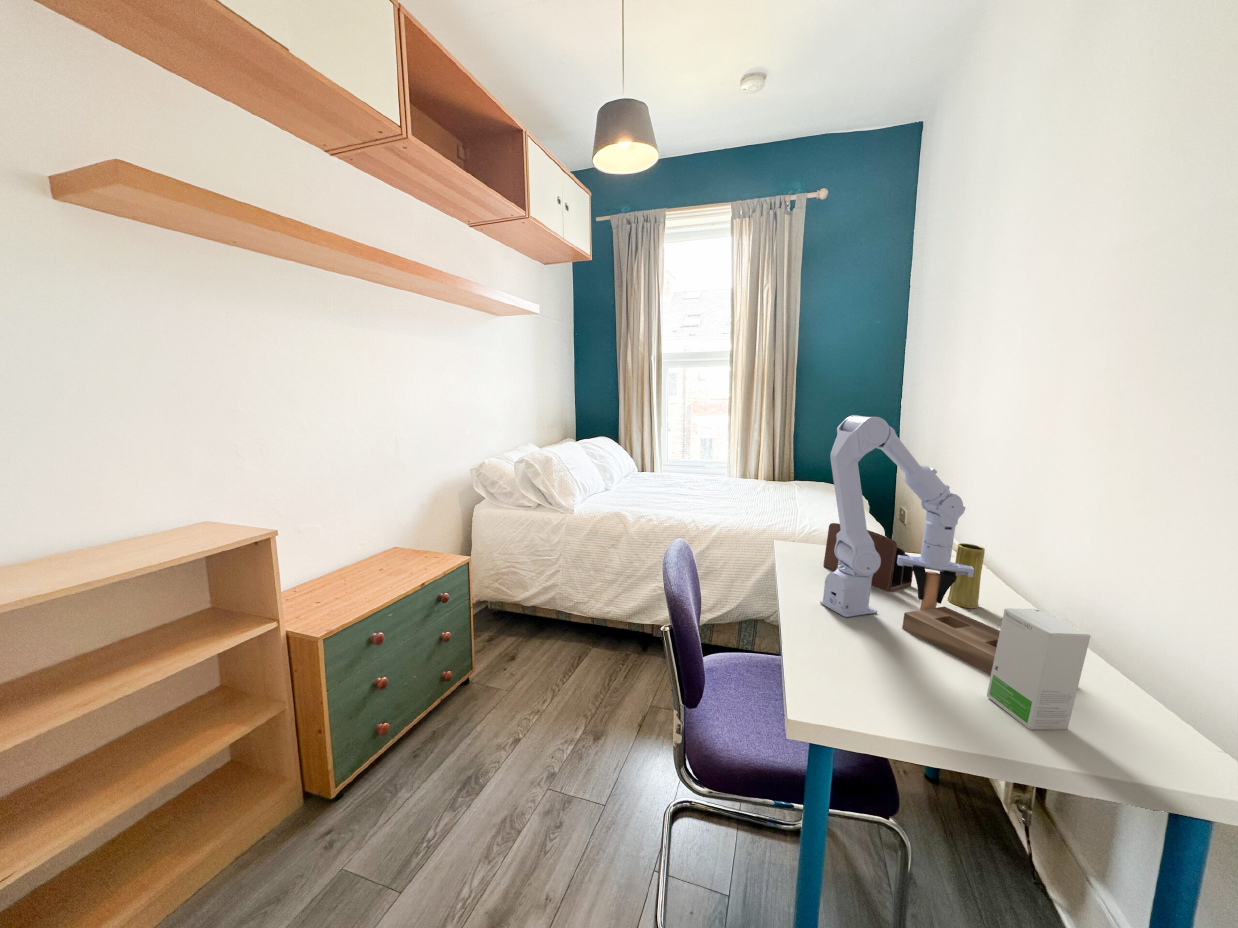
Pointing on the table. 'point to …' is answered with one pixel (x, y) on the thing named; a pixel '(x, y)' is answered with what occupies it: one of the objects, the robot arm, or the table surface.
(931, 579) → the peg
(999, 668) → the skincare box
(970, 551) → the vase
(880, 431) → the robot arm
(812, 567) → the table surface
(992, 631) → the hole block
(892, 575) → the letter holder
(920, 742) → the table surface
